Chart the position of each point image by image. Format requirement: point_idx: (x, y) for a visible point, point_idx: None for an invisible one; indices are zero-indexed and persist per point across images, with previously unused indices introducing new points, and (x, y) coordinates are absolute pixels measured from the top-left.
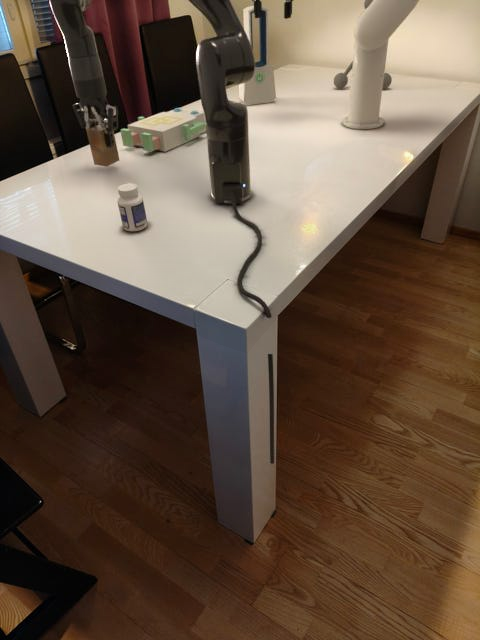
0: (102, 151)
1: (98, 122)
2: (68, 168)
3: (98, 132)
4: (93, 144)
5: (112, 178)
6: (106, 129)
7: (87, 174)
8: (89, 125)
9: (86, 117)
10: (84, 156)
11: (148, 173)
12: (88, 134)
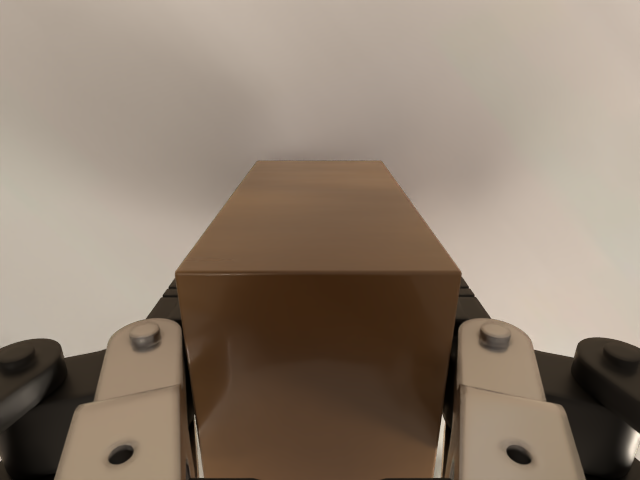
0: (249, 188)
1: (161, 408)
2: (611, 118)
3: (194, 264)
4: (352, 204)
5: (180, 100)
6: (106, 359)
7: (398, 84)
8: (458, 373)
9: (516, 474)
10: (621, 319)
11: (47, 255)
12: (414, 242)
